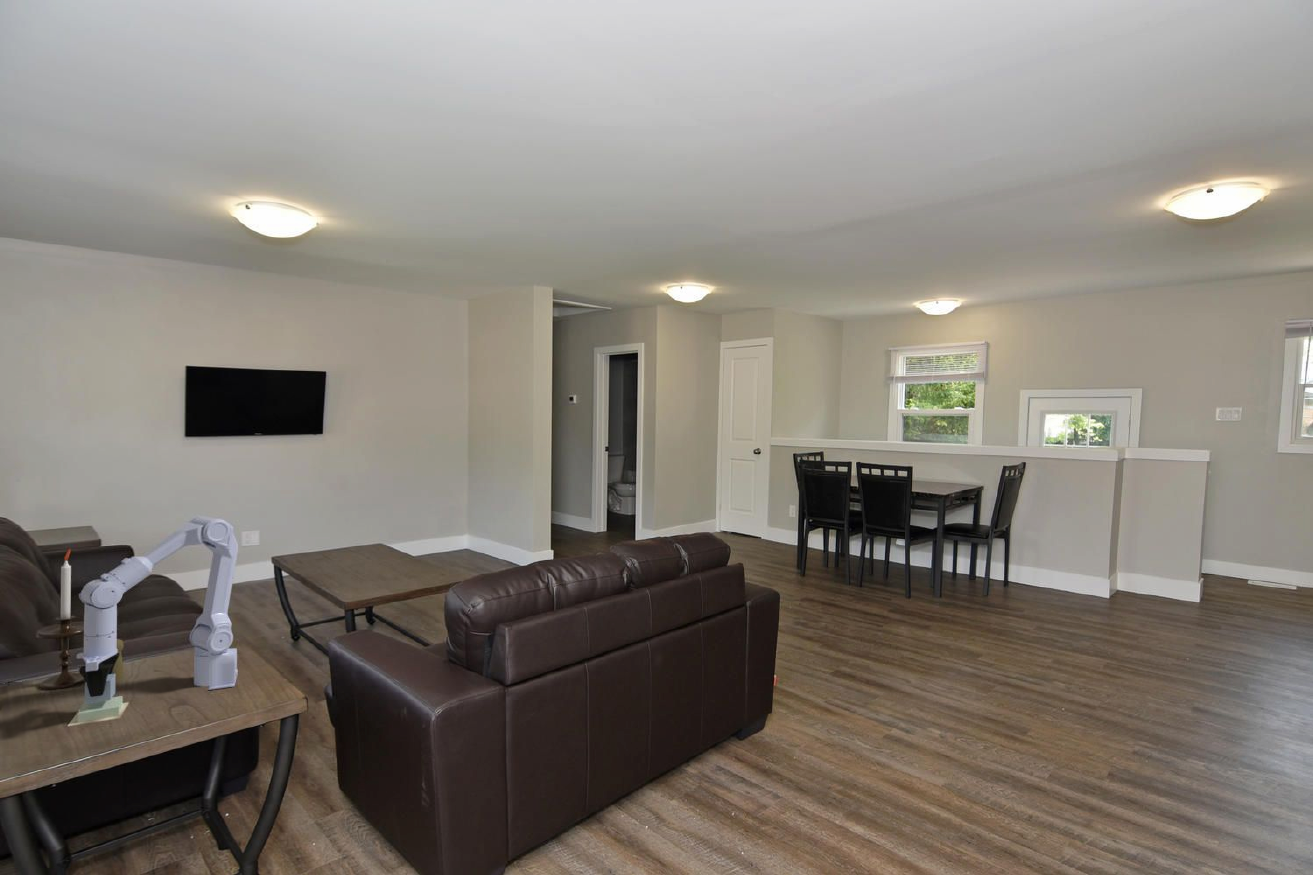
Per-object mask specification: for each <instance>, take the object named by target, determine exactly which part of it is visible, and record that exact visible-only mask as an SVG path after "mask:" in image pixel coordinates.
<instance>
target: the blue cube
mask: <svg viewBox="0 0 1313 875" xmlns="http://www.w3.org/2000/svg"><path fill="white" fill-rule="evenodd" d="M115 675H116V674H108V676H107V680H106V685H105V690H104V693H103V695H102V696H95V697H91V696H90V694H89V690H88V687H87V684H86V682H84V702H85V704H86V703H93V702H100V701H107V700H111V698H112V697H114V695H115V694H116V683H115Z"/></svg>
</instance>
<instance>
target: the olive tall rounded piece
mask: <svg viewBox="0 0 1313 875" xmlns="http://www.w3.org/2000/svg"><path fill="white" fill-rule="evenodd" d="M124 644H125V643H124V642H123V640H122V639H119V638H117V649H118V652H117V653H120V656H119V657H118V659H117V661H116V663H115V666H114V668H113V672H112V674H116V675H115V684H120V683H123V682H124V681H125V680H126V676H125V669H124V663H123V657H122V651H123V649H124Z"/></svg>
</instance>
